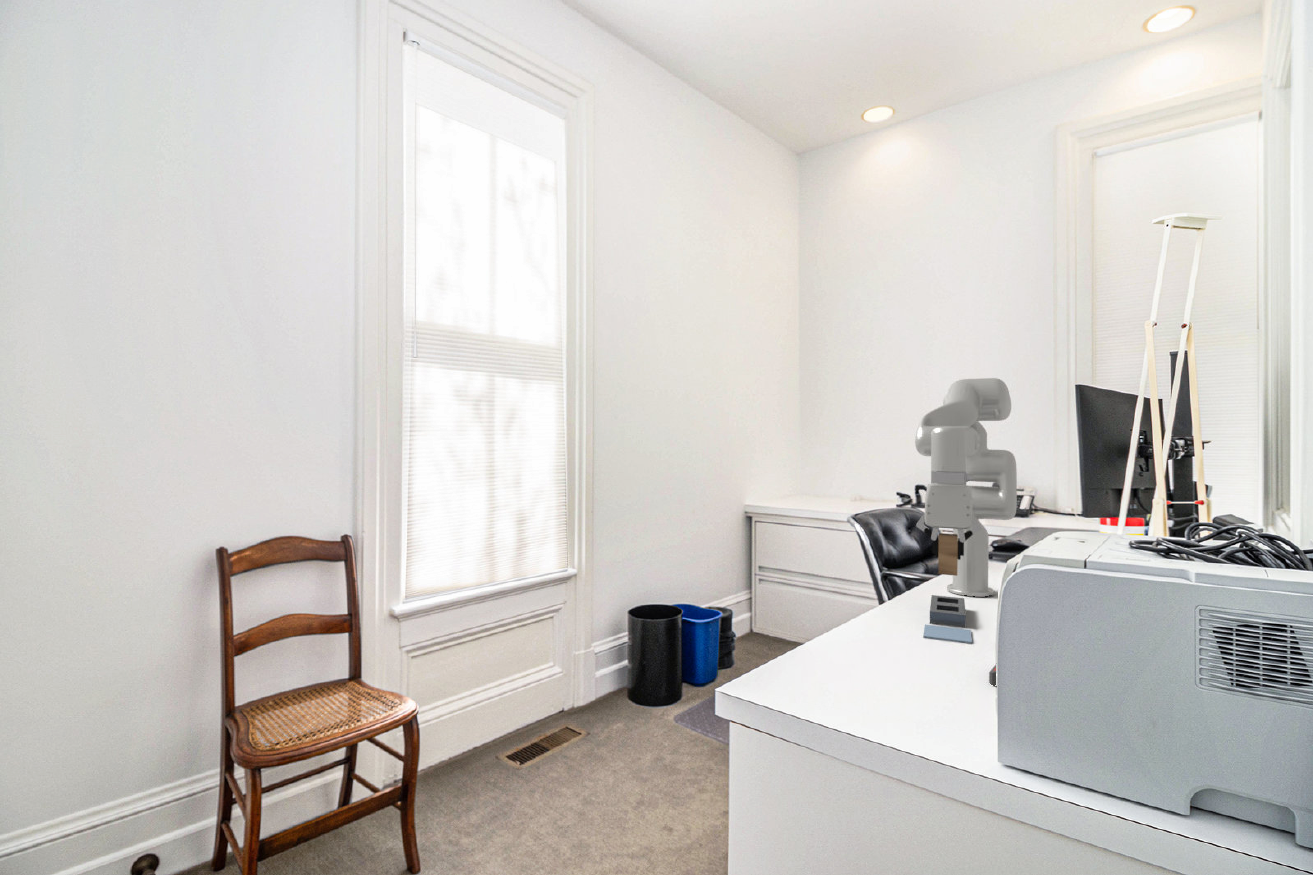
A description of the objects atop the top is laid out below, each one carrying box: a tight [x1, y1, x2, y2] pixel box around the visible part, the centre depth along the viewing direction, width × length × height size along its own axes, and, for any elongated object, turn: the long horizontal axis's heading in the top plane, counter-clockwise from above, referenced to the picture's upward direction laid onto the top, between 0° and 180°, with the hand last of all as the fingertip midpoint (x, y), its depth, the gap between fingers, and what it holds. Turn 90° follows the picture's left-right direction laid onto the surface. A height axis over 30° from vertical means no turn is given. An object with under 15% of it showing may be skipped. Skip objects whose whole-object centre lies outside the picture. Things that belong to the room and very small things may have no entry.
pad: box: [922, 624, 973, 645], centre depth 151 cm, size 10×10×1 cm
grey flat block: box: [929, 594, 967, 628], centre depth 166 cm, size 18×8×3 cm, turn 155°
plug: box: [937, 532, 958, 576], centre depth 150 cm, size 4×4×9 cm
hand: (947, 557), depth 150 cm, fingers closed on plug, 4 cm apart
